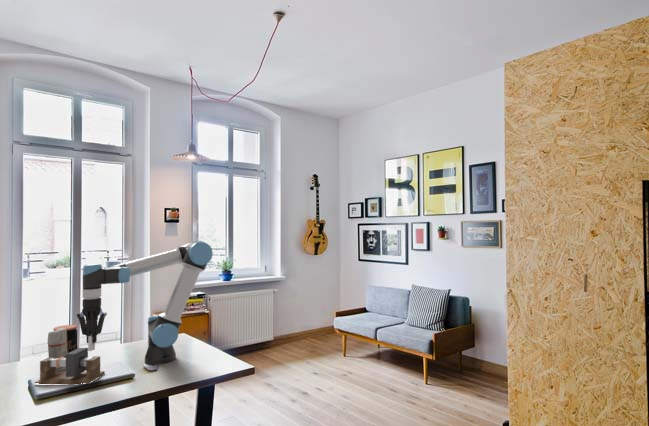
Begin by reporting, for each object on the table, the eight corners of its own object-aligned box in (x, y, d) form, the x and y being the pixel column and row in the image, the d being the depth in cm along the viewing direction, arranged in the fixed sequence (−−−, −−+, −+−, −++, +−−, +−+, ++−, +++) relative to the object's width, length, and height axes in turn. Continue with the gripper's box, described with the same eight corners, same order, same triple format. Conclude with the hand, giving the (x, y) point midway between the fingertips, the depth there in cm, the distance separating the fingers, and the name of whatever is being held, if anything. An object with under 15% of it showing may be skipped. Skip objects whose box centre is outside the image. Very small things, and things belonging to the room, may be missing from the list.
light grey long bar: (95, 364, 191) (95, 356, 191) (91, 366, 188) (91, 358, 188) (50, 365, 192) (50, 357, 192) (45, 367, 188) (45, 359, 188)
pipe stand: (104, 374, 196) (104, 353, 196) (88, 384, 183) (88, 362, 183) (54, 375, 196) (54, 354, 196) (34, 385, 183) (34, 363, 183)
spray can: (58, 373, 199) (58, 331, 199) (43, 372, 200) (44, 330, 201) (72, 367, 207) (72, 327, 208) (58, 366, 208) (58, 326, 209)
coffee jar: (52, 366, 209) (52, 330, 210) (54, 360, 219) (54, 326, 220) (76, 362, 214) (76, 327, 215) (78, 357, 224) (78, 323, 225)
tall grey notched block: (87, 369, 194) (87, 347, 195) (74, 376, 184) (74, 354, 185) (79, 369, 194) (79, 347, 195) (65, 377, 184) (65, 354, 185)
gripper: (110, 296, 194) (110, 347, 193) (82, 296, 194) (82, 347, 193) (101, 299, 187) (101, 352, 186) (72, 299, 187) (72, 352, 186)
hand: (91, 350), depth 189 cm, fingers closed
